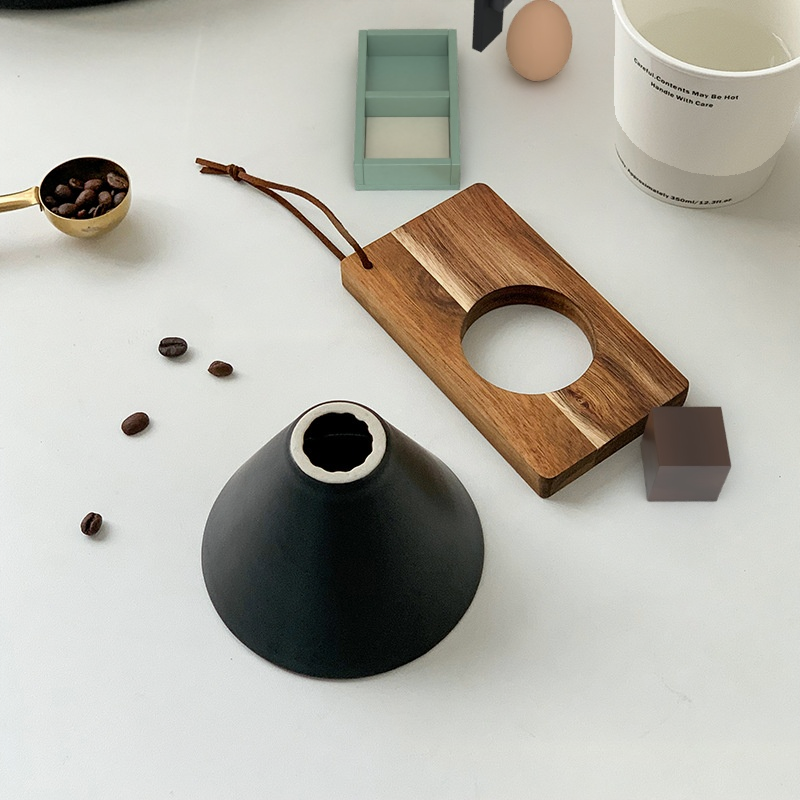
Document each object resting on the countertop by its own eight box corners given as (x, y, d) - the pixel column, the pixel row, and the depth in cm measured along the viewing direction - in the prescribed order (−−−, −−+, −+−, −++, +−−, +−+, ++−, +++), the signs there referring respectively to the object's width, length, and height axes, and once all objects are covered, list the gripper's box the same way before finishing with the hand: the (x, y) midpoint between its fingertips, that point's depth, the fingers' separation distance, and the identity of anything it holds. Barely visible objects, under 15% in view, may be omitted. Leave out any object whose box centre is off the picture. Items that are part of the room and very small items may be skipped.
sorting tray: (455, 55, 113) (456, 28, 111) (459, 189, 104) (460, 164, 101) (360, 55, 114) (358, 29, 111) (355, 190, 104) (353, 164, 101)
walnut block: (707, 442, 89) (721, 406, 85) (716, 501, 86) (731, 466, 82) (640, 443, 89) (651, 406, 85) (647, 501, 87) (659, 466, 82)
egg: (576, 62, 113) (586, -8, 106) (555, 103, 110) (563, 33, 103) (517, 45, 114) (523, -25, 107) (494, 85, 111) (498, 15, 104)
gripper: (197, -337, 71) (241, -31, 88) (556, -207, 62) (526, 102, 80) (276, -387, 74) (304, -82, 92) (628, -269, 66) (584, 41, 83)
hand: (408, 4), depth 86 cm, fingers open, 13 cm apart
